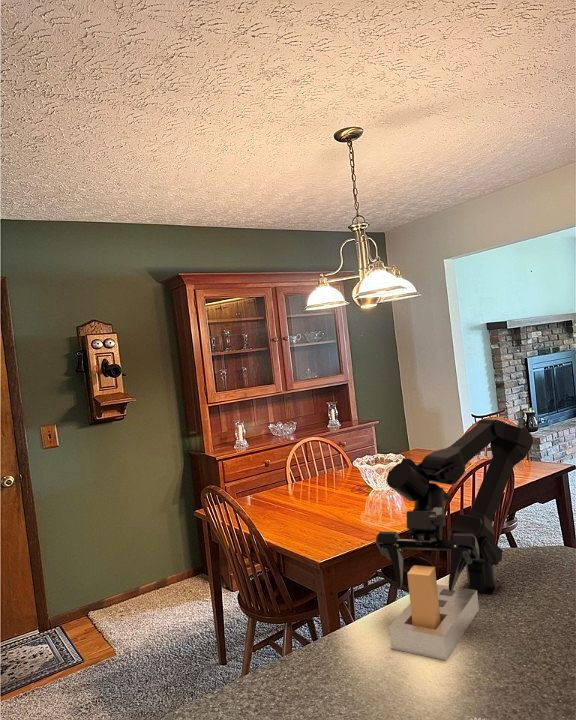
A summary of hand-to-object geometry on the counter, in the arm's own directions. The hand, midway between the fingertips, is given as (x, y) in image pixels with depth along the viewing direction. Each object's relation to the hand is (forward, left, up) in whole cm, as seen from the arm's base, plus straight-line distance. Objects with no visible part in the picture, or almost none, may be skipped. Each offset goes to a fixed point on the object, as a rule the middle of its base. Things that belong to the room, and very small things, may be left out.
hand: (424, 589), depth 104 cm
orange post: (+1, 0, -9) cm, 9 cm away
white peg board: (-4, 0, -9) cm, 10 cm away
